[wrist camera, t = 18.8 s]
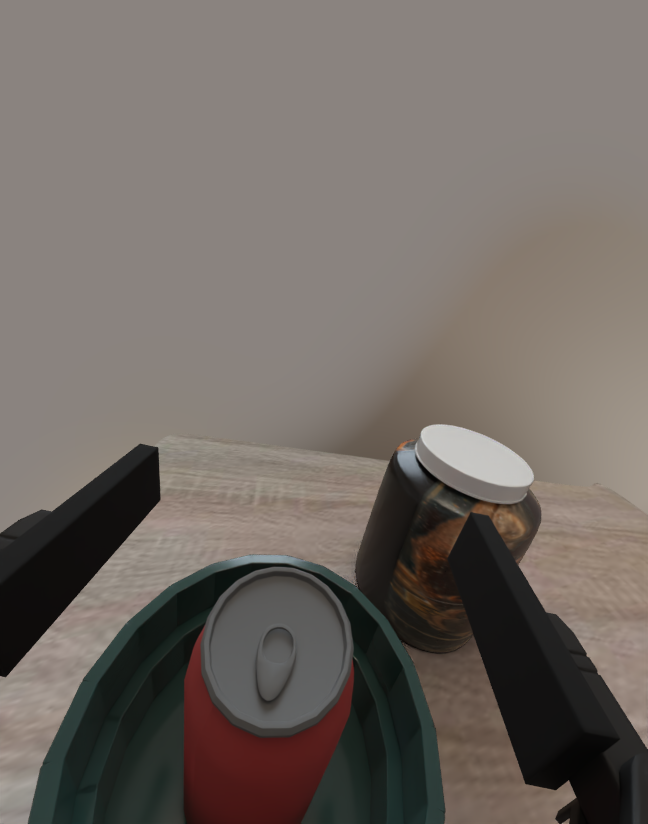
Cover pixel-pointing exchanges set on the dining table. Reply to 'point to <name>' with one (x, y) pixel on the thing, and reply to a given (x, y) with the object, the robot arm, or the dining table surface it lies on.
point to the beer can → (265, 699)
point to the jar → (439, 528)
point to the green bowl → (164, 719)
